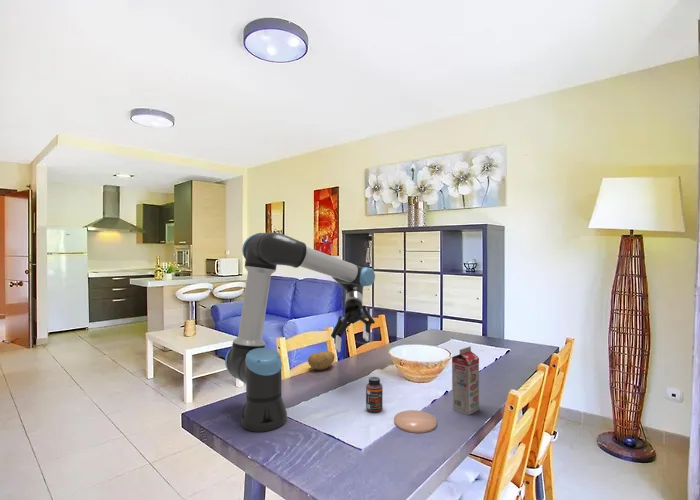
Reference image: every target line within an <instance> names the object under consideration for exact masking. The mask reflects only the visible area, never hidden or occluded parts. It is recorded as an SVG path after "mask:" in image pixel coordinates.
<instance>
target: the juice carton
mask: <svg viewBox="0 0 700 500" xmlns="http://www.w3.org/2000/svg"><path fill="white" fill-rule="evenodd" d="M451 389H452V390H451V391H452V392H451V394H452V395H451V397H452V403H451V404H452V406H451V408H452V410H453V411H456V412H460V413H462V414H465V415H468V416H470V415H471V414H474V413H475V412H477V411H479V410H480V357H479V356H478V355H477V354H476V353H474V352H473V351H472V347H471V346H468V347H464V348H461V349H459V353H458V354H457V355H454V356H452V357H451Z"/></svg>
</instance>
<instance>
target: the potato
mask: <svg viewBox="0 0 700 500" xmlns="http://www.w3.org/2000/svg"><path fill="white" fill-rule="evenodd" d="M335 358H336V357H335V354H334V353H333V352H331V351H321V352H316V353H312V354H310V355H309V356H308V358H307V362H308V365H309V366H310V367H311V368H312V369H315V370H317V371H318V370H319V371H321V370H322V371H323V370H326V369H327V368H329V367H330V366H331V365H332V364H333V362H334V361H335Z"/></svg>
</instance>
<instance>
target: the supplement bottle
mask: <svg viewBox="0 0 700 500" xmlns="http://www.w3.org/2000/svg"><path fill="white" fill-rule="evenodd" d="M383 394H384V393H383V384H382V383H381V378H380V377H379V376H369V377H368V383H367V384H366V385H365V408H366V411H368V412H369V413H380V412H382V411H383V405H384V404H383V402H384V400H383Z"/></svg>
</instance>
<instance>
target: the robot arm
mask: <svg viewBox="0 0 700 500" xmlns="http://www.w3.org/2000/svg"><path fill="white" fill-rule="evenodd" d="M241 252H242V256H243V257H244V258H243V259H244V268H245V269H246V271H247V276H246V283H245V287H244V289H245V290H244V296H243V303H242V310H241V316H240V322H239V328H238V334H237V335H238V336H237V337H236V338H235V339H233V340H232V346H231V347H230V349H228V351H227V353H226V355H225V358H224V359H225V360H224V361H225V363H224V364H225V368H226V369H227V372H228V373H229V374H230V375H231V376H232V377H234V379H237V380H239V381H241V382H242V383H244V384H245V391H246V392H245V394H246V399H245V400H246V401H245V403H244V407H243V411H242V413H241V416H240V417H241V420H240V423H241V427H242V428H243V429H244V430H247V431H250V432H257V433H258V432H269V431H273V430H276V429H278V428H280V427H282V426H283V425H285V424H286V423H287V421H288V412H287V409H286V405H285V403H284V399H283V396H282V366H283V365H282V358H281V355H280V352H278V351H277V350H275V349H273V348H268V347H266V342H265V341H264V340H263V333H264V326H265V320H266V319H265V318H266V312H267V305H268V298H269V290H270V285H271V278H272V275H273V274H274V273H275V272H276V271H277V267H278V266H287V267H291V268H294V269H296V268H300V267H301V268H303V269H308V270H311V271H313V272H317V273H319V274H323V275H326V276H330V277H331V278H332V279H333V280H334V281H335V282H336V283H337V284H338V285H340V287H341V288H342V289H343V290H344V291H345V302H344V313H345V314H344V316H338V319H337V322H336V325H335V326H334V328H333V330H332V332H331V334H330V337H331V338H332V339H333V340H334V341H333V342H334V350H335V351H336V352H338V353H341V350H342V349H341V348H342V336H343V335H344V333H345V332H346V330H347V329H348V327H350V326H351V324H353V323H355V322H358V321H359V320H360V322H362V323H363V325H362V326H363V328H362V329H363V330H362V338H363V339H364V340H365V341H366V342H369V338H370V337H369V336H370V335H369V333H370V332H371V326H372V324H373V325H374V324H375V320H374V319H373V317H372V315H371V314H370V313H369V308H367V306H366V305H363V301H364V300H363V299H364V298H363V297H364V295H363V293H364V287H370V286H372V285H373V284H374V282H375V279H376V274H375V272H374V270H373V268H370V267H367V266H365V267H362V266H360V265H357V264H354V263H352V262H349V261H346V260H343V259H341V258H338V257H335V256H333V255H330V254H327V253H325V252H322V251H320V250H316V249H314V248H311V247H309V246H307V244H306V243H305V242H303V241H300V240H298V239H295V238H294V237H290V236H288V235H285V234H283V233H280V232H258V233H255V234H251V235H250V236H248V237H247V238H246V239H245V241H244V243H243V244H242V251H241ZM277 265H278V266H277ZM362 314H364V315H365V316H366V317H367V319H368V320H367V319H366V318H365V317H363V316H362Z"/></svg>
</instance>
